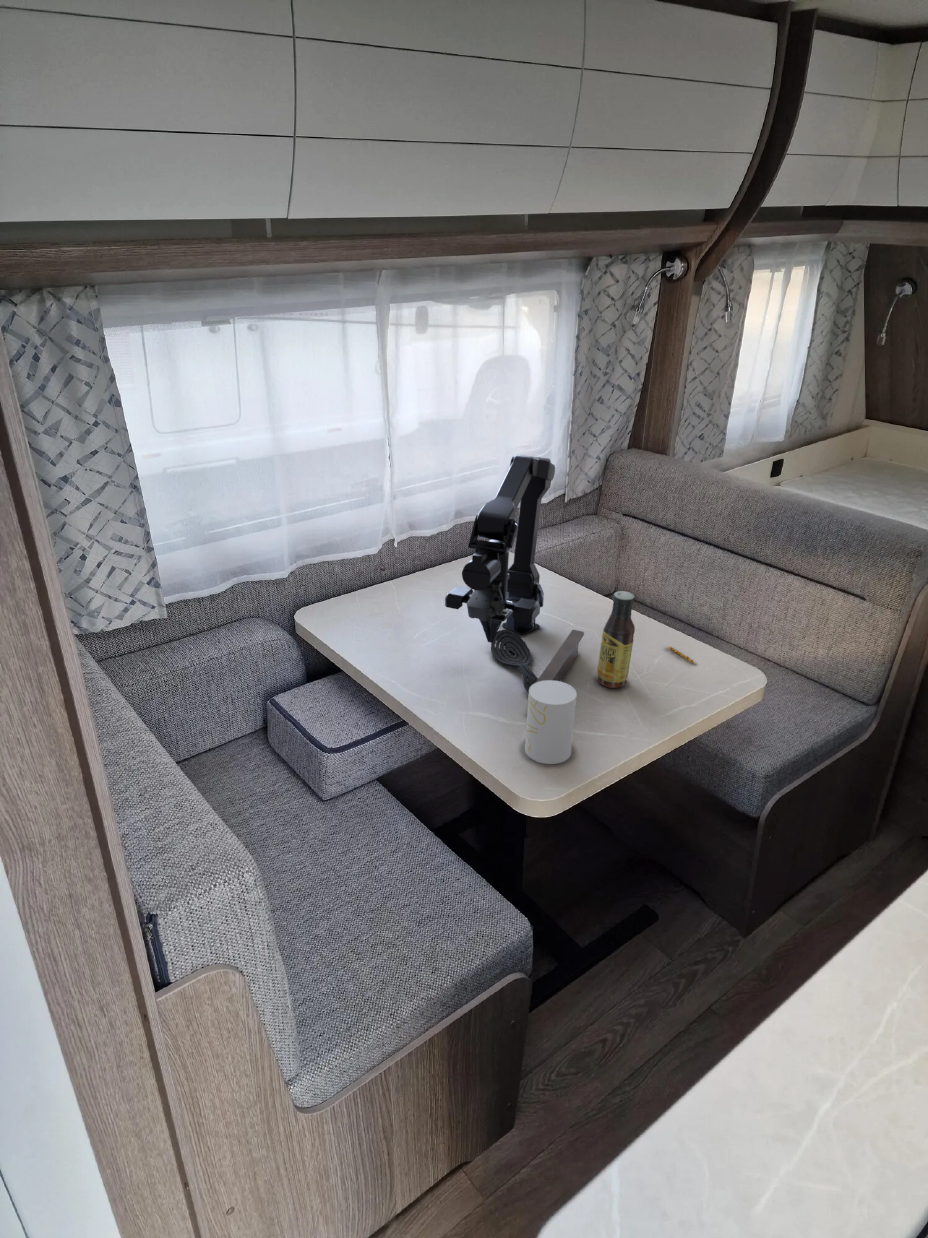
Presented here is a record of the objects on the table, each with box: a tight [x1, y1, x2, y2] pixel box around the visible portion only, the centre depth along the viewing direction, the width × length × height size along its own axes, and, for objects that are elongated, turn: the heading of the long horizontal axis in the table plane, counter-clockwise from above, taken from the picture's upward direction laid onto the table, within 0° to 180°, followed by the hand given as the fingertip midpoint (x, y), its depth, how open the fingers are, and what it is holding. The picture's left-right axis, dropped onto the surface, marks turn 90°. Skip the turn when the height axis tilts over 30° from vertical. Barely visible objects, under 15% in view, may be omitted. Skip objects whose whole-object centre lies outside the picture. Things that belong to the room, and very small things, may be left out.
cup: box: [524, 680, 578, 765], centre depth 142 cm, size 8×8×12 cm
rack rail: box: [536, 629, 585, 683], centre depth 165 cm, size 28×3×6 cm, turn 157°
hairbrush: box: [490, 626, 539, 695], centre depth 171 cm, size 8×4×25 cm
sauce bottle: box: [596, 590, 636, 689], centre depth 163 cm, size 6×6×20 cm
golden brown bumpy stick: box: [668, 645, 694, 664], centre depth 178 cm, size 8×1×1 cm, turn 28°
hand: (490, 641), depth 169 cm, fingers closed
